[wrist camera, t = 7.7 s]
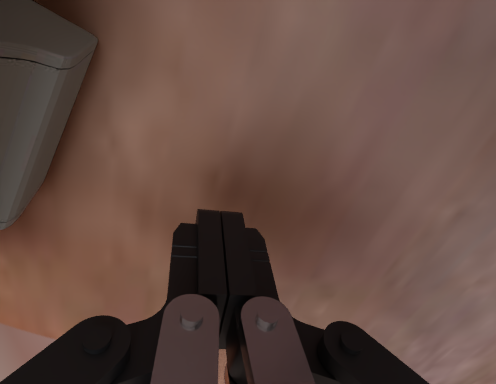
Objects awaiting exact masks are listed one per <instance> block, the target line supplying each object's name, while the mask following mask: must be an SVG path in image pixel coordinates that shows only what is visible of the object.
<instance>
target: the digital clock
mask: <svg viewBox="0 0 496 384" xmlns="http://www.w3.org/2000/svg"><path fill="white" fill-rule="evenodd" d="M97 43H98V39H97V38H96V37H95V36H94V35H92V34H91V33H89V32H87V31H86V30H84V29H82V28H80V27H79V26H77V25H75V24H73V23H71V22H70V21H68V20H66V19H64V18H62V17H61V16H59V15H57V14H55V13H54V12H52V11H50V10H48V9H46V8H45V7H43V6H41V5H39V4H37V3H36V2H34V1H32V0H0V230H1V229H5V228H7V227H9V226H11V225H12V224H13V223H14V222H15V221H16V220H17V219H18V218H19V217H20V215H21V214H22V213H23V211H24V210H25V208H26V207H27V205H28V204H29V202H30V201H31V199H32V198H33V196H34V195H35V194H36V192H37V191H38V189H39V188H40V186H41V185H42V183H43V182H44V179H45V177H46V174H47V172H48V169H49V166H50V164H51V161H52V159H53V156H54V154H55V151H56V148H57V146H58V143H59V141H60V138H61V135H62V133H63V130H64V128H65V125H66V123H67V120H68V117H69V115H70V112H71V110H72V107H73V105H74V102H75V99H76V97H77V94H78V92H79V89H80V86H81V84H82V81H83V79H84V76H85V74H86V71H87V68H88V66H89V63H90V61H91V58H92V55H93V53H94V50H95V48H96V45H97Z"/></svg>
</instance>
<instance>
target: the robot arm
mask: <svg viewBox="0 0 496 384" xmlns="http://www.w3.org/2000/svg"><path fill="white" fill-rule="evenodd" d="M219 349H226V355H227V364H226V367H225V371H224V379H225V384H429V383H428V382H427V381H425V380H424V379H423V378H422V377H421V376H419V375H418V374H417V373H416V372H414V371H413V370H412V369H411V368H409V367H408V366H407V365H406V364H404V363H403V362H402V361H401V360H399V359H398V358H397V357H396V356H394V355H393V354H392V353H391V352H390V351H388V350H387V349H386V348H385V347H383V346H382V345H381V344H380V343H378V342H377V341H376V340H375V339H373V338H372V337H371V336H370V335H368V334H367V333H366V332H365V331H364V330H362V329H361V328H359V327H358V326H356V325H354V324H352V323H349V322H345V321H336V322H333V323H331V324H329V325H328V326H327V327H326V329H325V330H323V329H320V328H317V327H314V326H311V325H308V324H305V323H302V322H300V321H298V320H296V319H295V318H293V317H292V316H291V314H290V312H289V310H288V309H287V308H286V307H285V306H284V305H283V304H282V303H281V302H280V301H279V297H278V293H277V289H276V285H275V281H274V277H273V273H272V269H271V264H270V263H269V256H268V253H267V248H266V244H265V240H264V238H263V237H262V235H261V234H260V233H259V232H258V230H257V229H255V228H245V224H244V218H243V214H242V213H239V212H228V211H215V210H203V209H198V211H197V216H196V223H195V224H188V223H181V224H180V225H179V226H178V227H177V229H176V230H175V231H174V233H173V242H172V252H171V262H170V272H169V283H168V294H167V300H166V303H165V304H164V306H163V307H162V309H161V310H160V311H159V312H158V313H156V314H155V315H154V316H152V317H150V318H148V319H146V320H143V321H139V322H136V323H132V324H128V325H126V324H125V323H124V322H123V321H121V320H120V319H118V318H115V317H112V316H104V315H103V316H95V317H91V318H88V319H85V320H83V321H81V322H80V323H78V324H77V325H75V326H74V327H73V328H71V329H70V330H69V331H67V332H66V333H65V334H63V335H62V336H61V337H59V338H58V339H57V340H56V341H54V342H53V343H51V344H50V345H49V346H48V347H46V348H45V349H44V350H42V351H41V352H40V353H38V354H37V355H36V356H34V357H33V358H32V359H30V360H29V361H28V362H26V363H25V364H24V365H22V366H21V367H20V368H19V369H17V370H16V371H14V372H13V373H12V374H11V375H9V376H8V377H6V378H5V379H4V380H3V381H1V382H0V384H218V357H219Z"/></svg>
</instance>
